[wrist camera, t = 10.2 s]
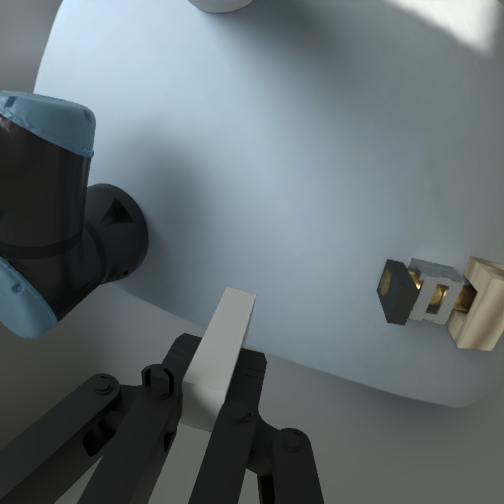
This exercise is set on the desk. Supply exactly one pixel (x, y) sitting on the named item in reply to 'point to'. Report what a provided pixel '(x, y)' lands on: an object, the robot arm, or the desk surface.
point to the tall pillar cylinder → (219, 5)
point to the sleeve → (430, 278)
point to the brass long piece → (412, 293)
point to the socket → (480, 308)
